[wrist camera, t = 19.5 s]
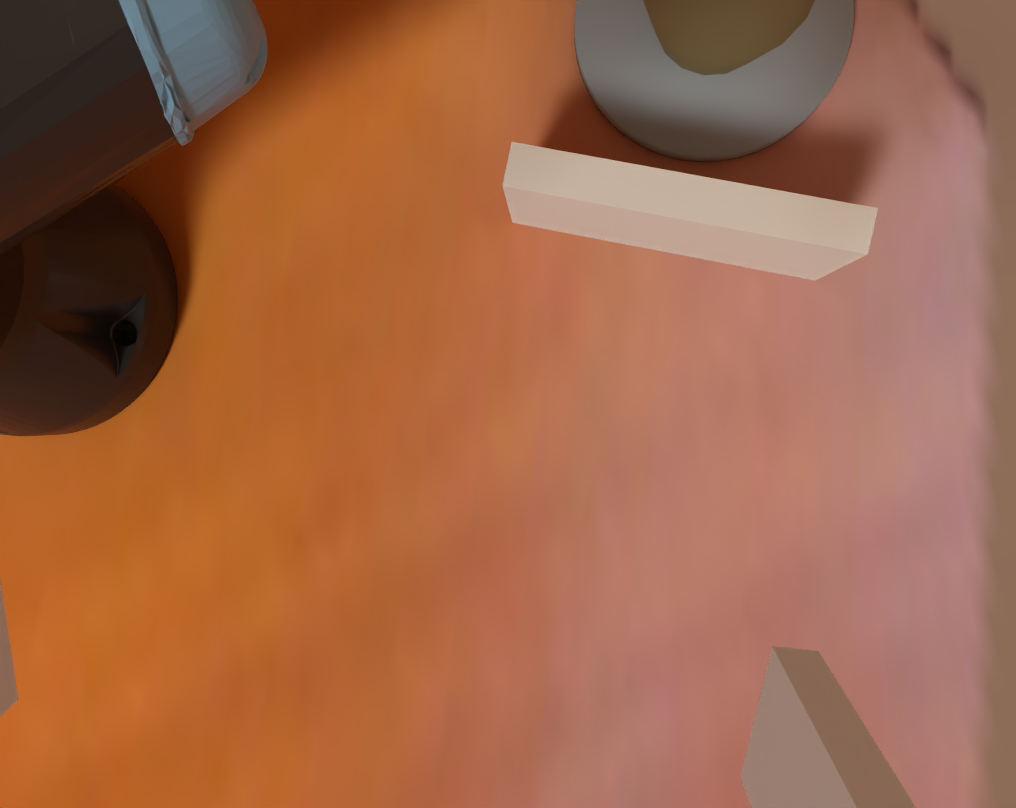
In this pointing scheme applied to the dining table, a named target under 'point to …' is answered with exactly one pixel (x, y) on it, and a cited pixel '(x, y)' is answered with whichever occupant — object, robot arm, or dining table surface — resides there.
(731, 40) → the squeeze bottle
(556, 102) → the dining table surface
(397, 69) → the dining table surface
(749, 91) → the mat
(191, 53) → the robot arm
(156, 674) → the dining table surface
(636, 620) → the dining table surface
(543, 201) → the beige rectangular block
